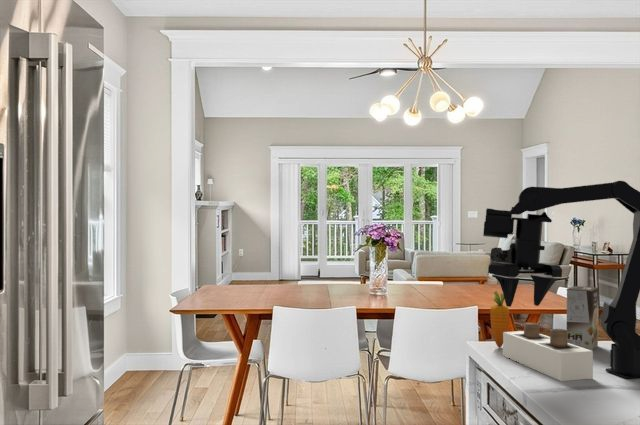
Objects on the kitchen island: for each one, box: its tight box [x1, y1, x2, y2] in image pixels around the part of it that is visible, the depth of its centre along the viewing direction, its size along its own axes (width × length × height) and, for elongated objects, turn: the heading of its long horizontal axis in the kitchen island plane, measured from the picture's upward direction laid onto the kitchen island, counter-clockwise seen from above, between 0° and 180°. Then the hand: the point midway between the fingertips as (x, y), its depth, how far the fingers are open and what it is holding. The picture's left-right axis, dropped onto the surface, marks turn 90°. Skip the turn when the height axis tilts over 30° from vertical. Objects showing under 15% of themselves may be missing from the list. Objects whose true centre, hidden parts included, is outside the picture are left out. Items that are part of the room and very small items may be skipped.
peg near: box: [549, 328, 568, 349], centre depth 126 cm, size 4×4×6 cm
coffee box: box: [566, 285, 599, 352], centre depth 149 cm, size 9×6×16 cm
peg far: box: [523, 322, 541, 339], centre depth 135 cm, size 4×4×6 cm
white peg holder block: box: [502, 330, 594, 382], centre depth 130 cm, size 22×8×6 cm, turn 14°
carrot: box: [489, 290, 510, 349], centre depth 149 cm, size 5×5×15 cm
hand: (522, 305), depth 131 cm, fingers open, 9 cm apart
